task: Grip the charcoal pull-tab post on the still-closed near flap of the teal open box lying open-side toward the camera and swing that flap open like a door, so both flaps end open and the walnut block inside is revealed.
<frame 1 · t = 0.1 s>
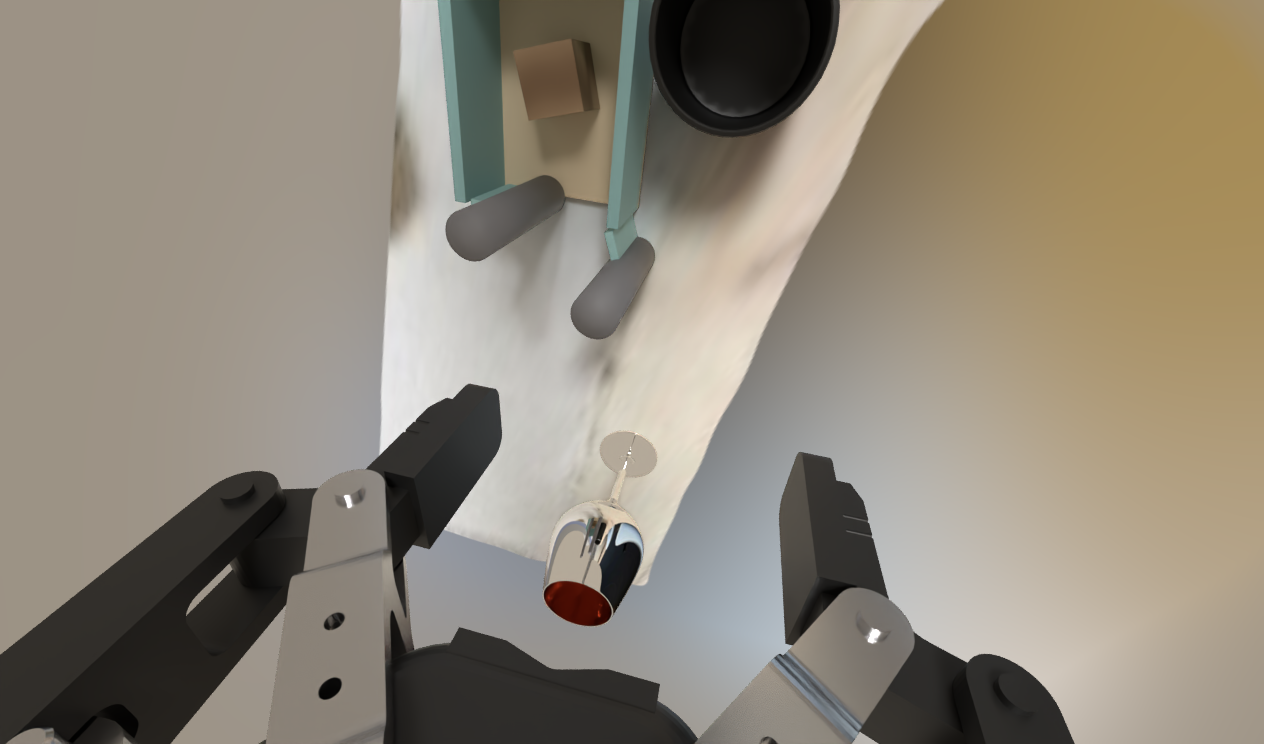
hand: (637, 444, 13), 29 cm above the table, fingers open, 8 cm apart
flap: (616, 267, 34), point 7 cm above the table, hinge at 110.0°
teal open box: (571, 97, 35), on the table
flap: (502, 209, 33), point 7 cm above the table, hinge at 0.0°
mug: (753, 24, 31), on the table
walnut block: (569, 81, 34), point 1 cm above the table, touching teal open box
wineglass: (629, 452, 52), on the table
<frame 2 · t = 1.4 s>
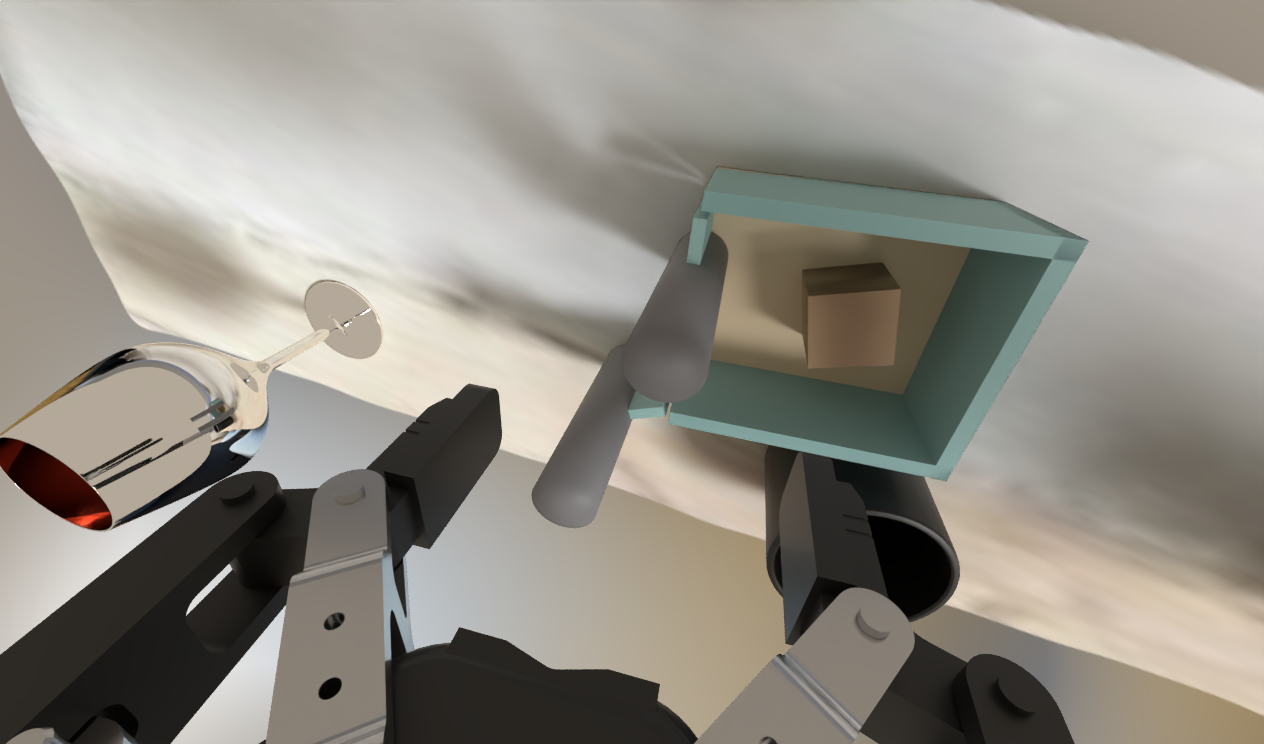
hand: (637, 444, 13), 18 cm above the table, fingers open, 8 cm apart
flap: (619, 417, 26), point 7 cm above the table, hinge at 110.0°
teal open box: (820, 293, 27), on the table
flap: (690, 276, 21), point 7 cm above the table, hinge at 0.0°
mug: (851, 468, 33), on the table
walnut block: (840, 300, 27), point 1 cm above the table, touching teal open box
wineglass: (347, 320, 37), on the table
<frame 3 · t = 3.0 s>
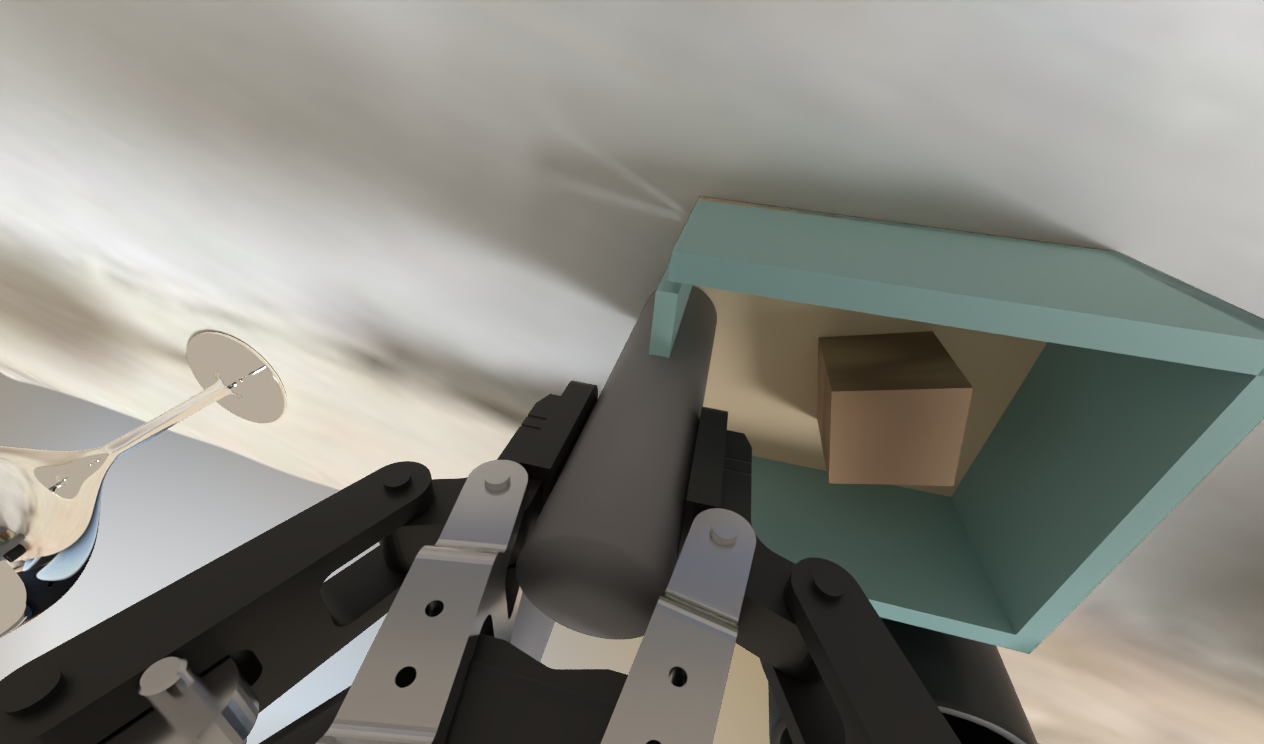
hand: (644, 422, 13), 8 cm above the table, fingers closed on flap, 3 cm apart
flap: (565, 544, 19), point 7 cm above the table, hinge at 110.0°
teal open box: (842, 366, 20), on the table
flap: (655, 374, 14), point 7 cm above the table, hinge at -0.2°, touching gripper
mug: (877, 573, 26), on the table
walnut block: (870, 378, 19), point 1 cm above the table, touching teal open box
wineglass: (242, 377, 29), on the table
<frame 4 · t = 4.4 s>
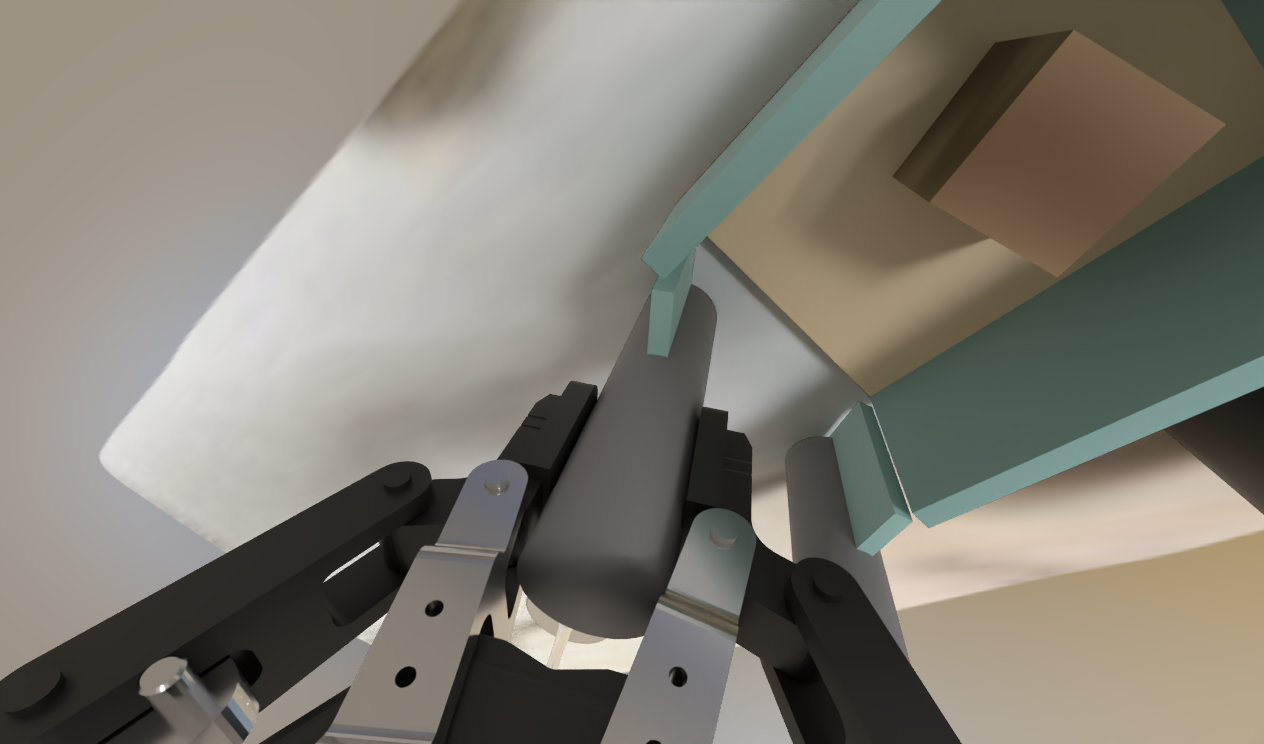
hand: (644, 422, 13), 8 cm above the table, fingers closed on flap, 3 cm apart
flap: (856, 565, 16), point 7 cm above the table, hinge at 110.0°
teal open box: (955, 170, 16), on the table
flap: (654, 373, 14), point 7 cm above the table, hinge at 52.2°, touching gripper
walnut block: (994, 147, 15), point 1 cm above the table, touching teal open box
wineglass: (571, 611, 34), on the table
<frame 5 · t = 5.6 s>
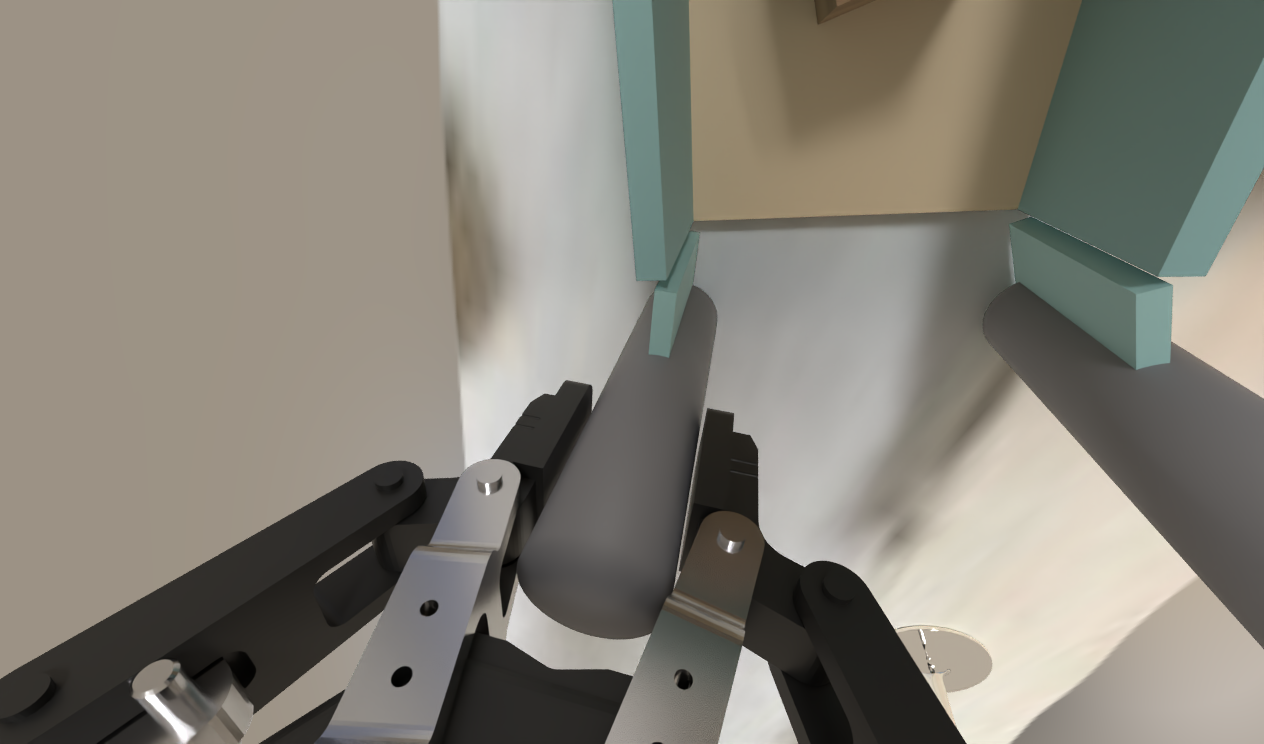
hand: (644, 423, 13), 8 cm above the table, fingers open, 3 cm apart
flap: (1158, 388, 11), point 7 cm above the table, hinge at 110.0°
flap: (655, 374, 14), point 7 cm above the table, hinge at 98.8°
wineglass: (926, 655, 28), on the table
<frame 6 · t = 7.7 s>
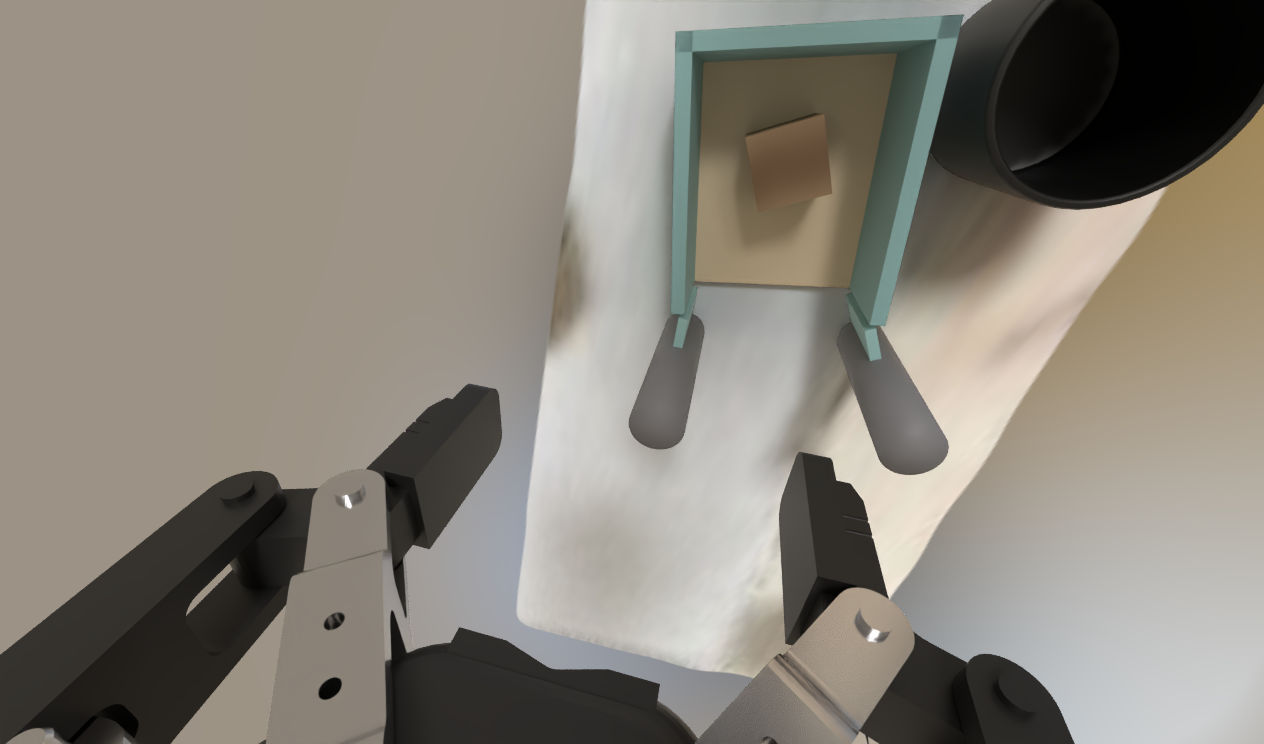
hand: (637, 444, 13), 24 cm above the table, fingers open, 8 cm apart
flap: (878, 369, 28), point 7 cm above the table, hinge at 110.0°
teal open box: (782, 175, 30), on the table
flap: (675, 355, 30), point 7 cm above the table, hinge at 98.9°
mug: (1031, 62, 25), on the table
walnut block: (784, 158, 29), point 1 cm above the table, touching teal open box
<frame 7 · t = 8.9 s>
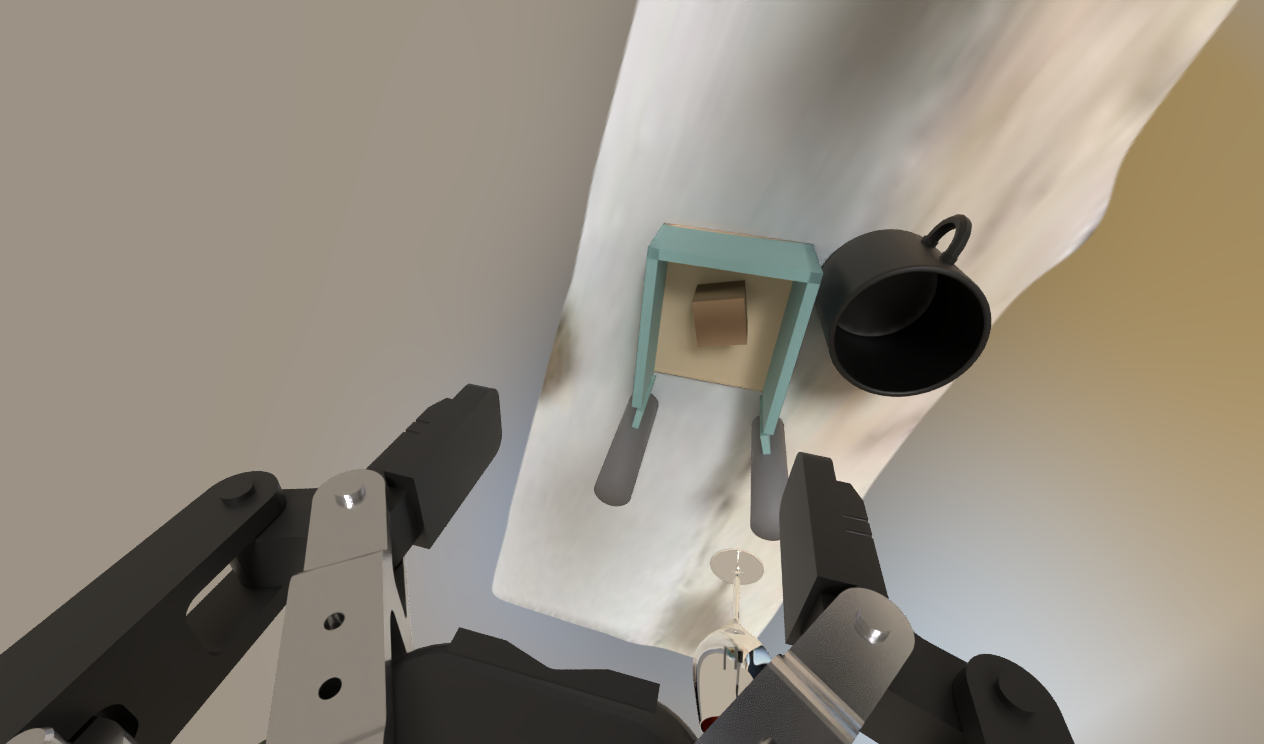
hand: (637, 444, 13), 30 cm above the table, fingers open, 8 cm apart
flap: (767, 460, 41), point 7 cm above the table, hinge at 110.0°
teal open box: (721, 312, 42), on the table
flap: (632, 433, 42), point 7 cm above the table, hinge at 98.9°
mug: (886, 272, 38), on the table
walnut block: (722, 304, 41), point 1 cm above the table, touching teal open box
wineglass: (737, 565, 59), on the table
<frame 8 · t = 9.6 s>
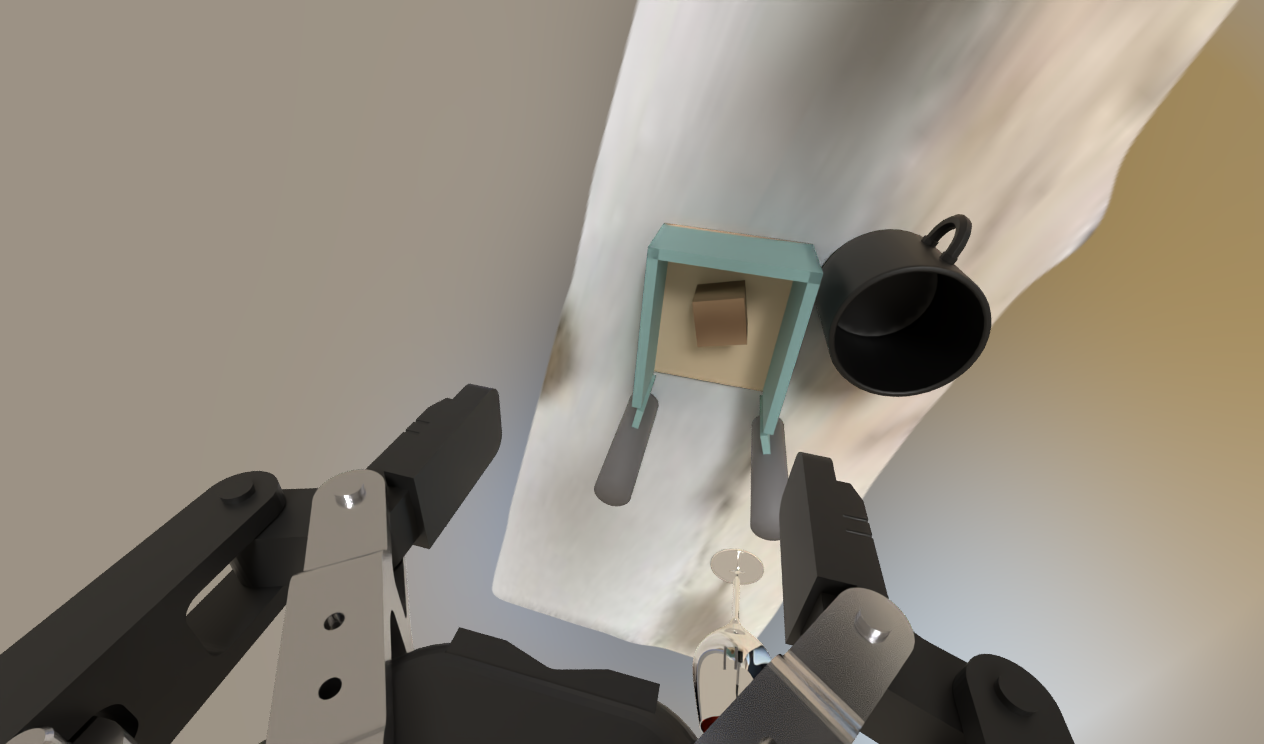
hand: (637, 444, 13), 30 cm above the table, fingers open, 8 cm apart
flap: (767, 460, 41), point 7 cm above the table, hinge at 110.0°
teal open box: (721, 311, 42), on the table
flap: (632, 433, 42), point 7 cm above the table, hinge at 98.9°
mug: (886, 272, 38), on the table
walnut block: (722, 304, 41), point 1 cm above the table, touching teal open box
wineglass: (737, 565, 59), on the table
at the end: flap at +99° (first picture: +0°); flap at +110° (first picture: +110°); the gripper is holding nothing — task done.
